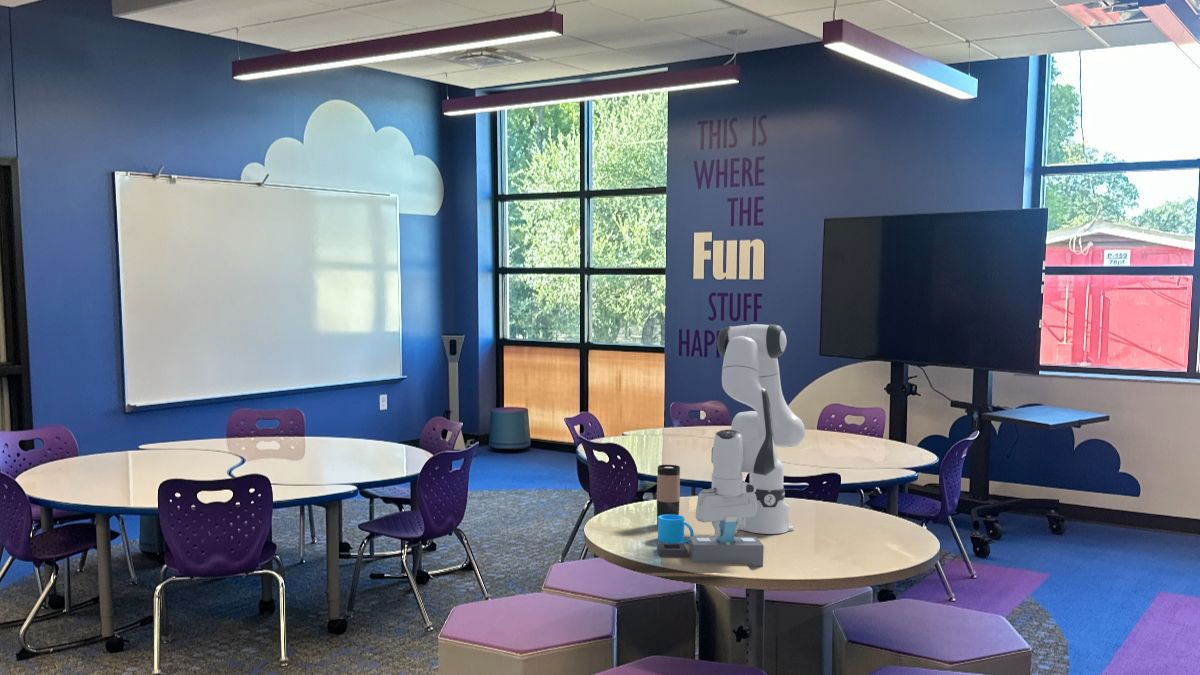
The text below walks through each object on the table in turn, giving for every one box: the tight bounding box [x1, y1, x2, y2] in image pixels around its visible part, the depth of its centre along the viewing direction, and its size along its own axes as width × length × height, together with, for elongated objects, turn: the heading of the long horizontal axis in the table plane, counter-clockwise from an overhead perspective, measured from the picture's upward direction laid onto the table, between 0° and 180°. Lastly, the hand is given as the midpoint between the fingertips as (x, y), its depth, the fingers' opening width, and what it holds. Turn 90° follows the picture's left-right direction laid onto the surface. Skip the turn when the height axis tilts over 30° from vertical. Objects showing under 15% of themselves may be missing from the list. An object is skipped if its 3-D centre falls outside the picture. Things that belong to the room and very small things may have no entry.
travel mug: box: [656, 464, 681, 527], centre depth 324 cm, size 8×8×20 cm
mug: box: [657, 514, 694, 544], centre depth 299 cm, size 12×8×8 cm
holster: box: [656, 542, 688, 558], centre depth 284 cm, size 8×8×3 cm
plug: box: [716, 516, 737, 543], centre depth 279 cm, size 4×4×8 cm
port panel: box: [688, 535, 764, 567], centre depth 280 cm, size 10×20×6 cm, turn 92°
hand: (725, 534), depth 279 cm, fingers closed on plug, 4 cm apart
